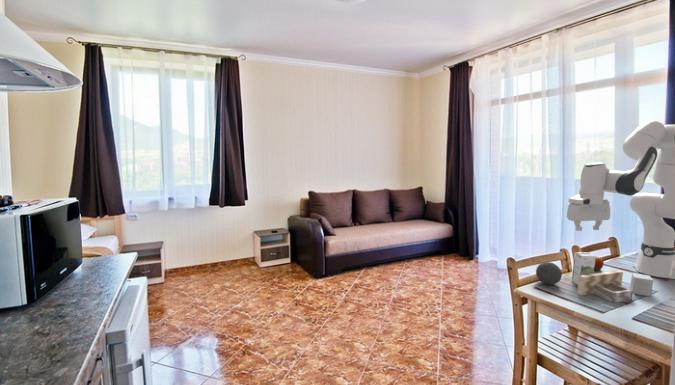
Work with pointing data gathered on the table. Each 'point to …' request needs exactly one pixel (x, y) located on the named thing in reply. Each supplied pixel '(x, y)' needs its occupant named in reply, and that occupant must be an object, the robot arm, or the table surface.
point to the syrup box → (582, 265)
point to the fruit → (598, 263)
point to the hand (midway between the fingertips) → (587, 230)
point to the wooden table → (605, 286)
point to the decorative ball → (548, 273)
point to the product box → (641, 284)
